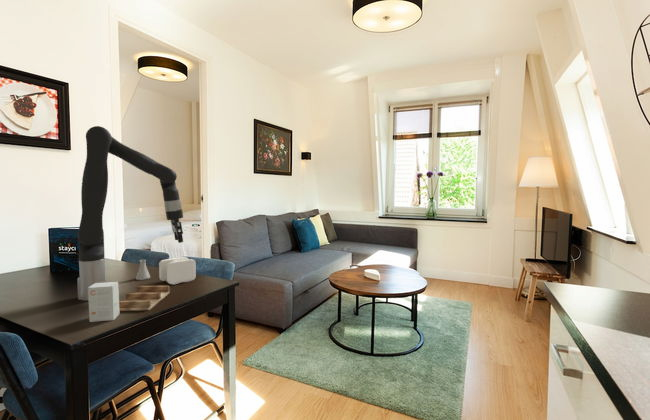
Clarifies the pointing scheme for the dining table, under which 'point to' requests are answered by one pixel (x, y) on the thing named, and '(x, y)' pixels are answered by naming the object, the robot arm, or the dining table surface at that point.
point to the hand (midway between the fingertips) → (179, 241)
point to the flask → (142, 271)
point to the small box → (103, 301)
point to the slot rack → (144, 298)
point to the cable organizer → (177, 270)
